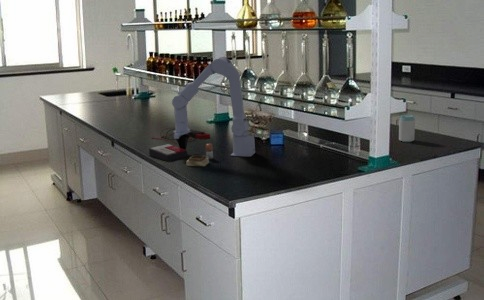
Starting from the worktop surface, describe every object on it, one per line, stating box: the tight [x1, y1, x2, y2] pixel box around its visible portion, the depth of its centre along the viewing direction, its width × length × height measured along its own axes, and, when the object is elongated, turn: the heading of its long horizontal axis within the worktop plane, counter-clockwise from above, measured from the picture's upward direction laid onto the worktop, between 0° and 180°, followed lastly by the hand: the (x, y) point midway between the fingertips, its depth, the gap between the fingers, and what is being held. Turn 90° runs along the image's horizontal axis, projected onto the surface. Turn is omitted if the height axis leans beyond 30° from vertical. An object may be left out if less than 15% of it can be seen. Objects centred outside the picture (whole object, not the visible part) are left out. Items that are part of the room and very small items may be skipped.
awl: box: [205, 143, 214, 161], centre depth 246 cm, size 3×3×6 cm
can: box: [398, 114, 416, 143], centre depth 264 cm, size 7×7×12 cm
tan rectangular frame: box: [185, 154, 210, 167], centre depth 238 cm, size 8×6×3 cm
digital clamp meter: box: [151, 127, 211, 145], centre depth 290 cm, size 23×4×25 cm
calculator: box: [148, 143, 188, 162], centre depth 254 cm, size 11×4×15 cm
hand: (183, 150), depth 257 cm, fingers closed
